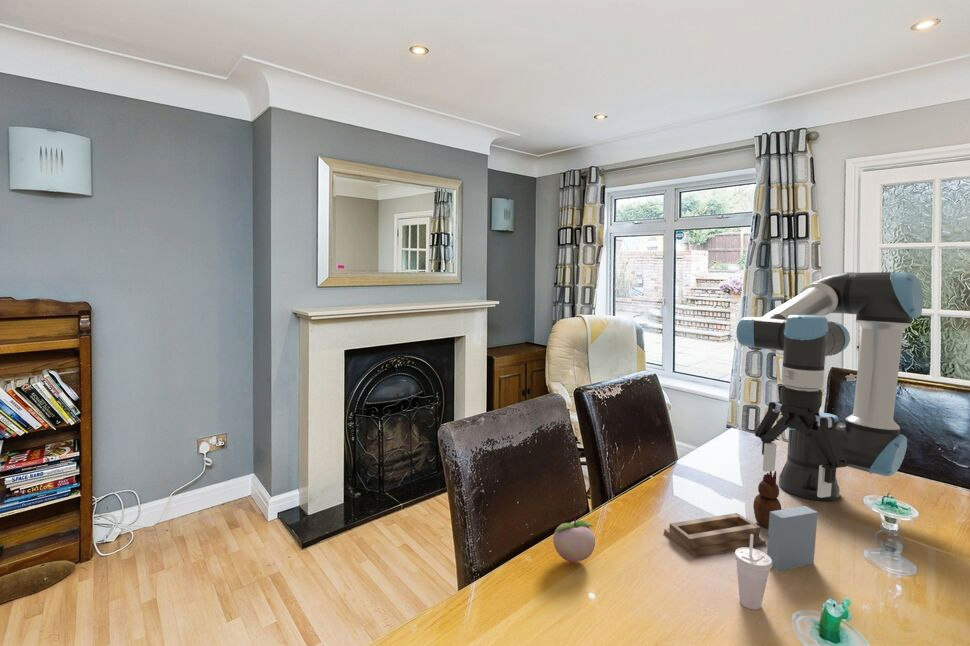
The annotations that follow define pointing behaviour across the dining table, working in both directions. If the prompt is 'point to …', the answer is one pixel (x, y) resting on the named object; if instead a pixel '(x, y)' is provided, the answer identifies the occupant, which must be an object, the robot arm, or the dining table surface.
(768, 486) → the wooden figurine
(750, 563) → the smoothie
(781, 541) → the gray rectangular block
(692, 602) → the dining table surface
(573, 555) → the decorative fruit
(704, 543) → the wooden tray
